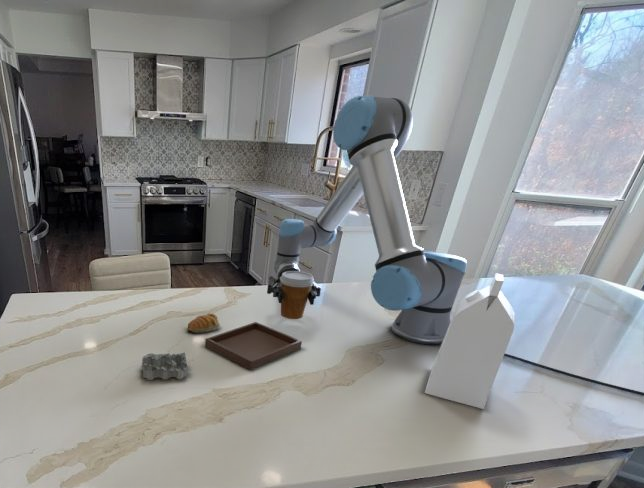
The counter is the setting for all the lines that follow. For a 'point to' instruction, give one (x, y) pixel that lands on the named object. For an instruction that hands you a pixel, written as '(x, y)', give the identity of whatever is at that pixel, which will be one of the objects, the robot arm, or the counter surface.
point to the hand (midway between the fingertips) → (296, 299)
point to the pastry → (204, 323)
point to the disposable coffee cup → (295, 293)
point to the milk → (473, 347)
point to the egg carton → (164, 366)
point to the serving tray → (253, 345)
